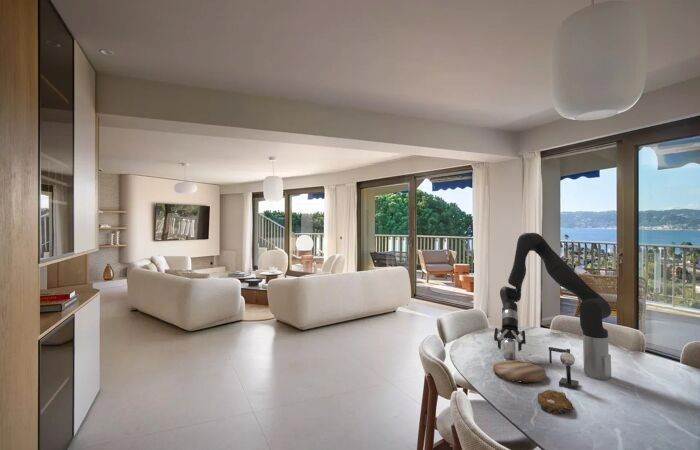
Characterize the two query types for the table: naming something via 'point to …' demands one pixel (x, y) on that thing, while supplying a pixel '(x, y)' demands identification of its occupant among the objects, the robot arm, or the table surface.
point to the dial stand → (568, 361)
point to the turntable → (519, 371)
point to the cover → (509, 350)
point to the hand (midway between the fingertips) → (509, 349)
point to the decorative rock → (554, 402)
